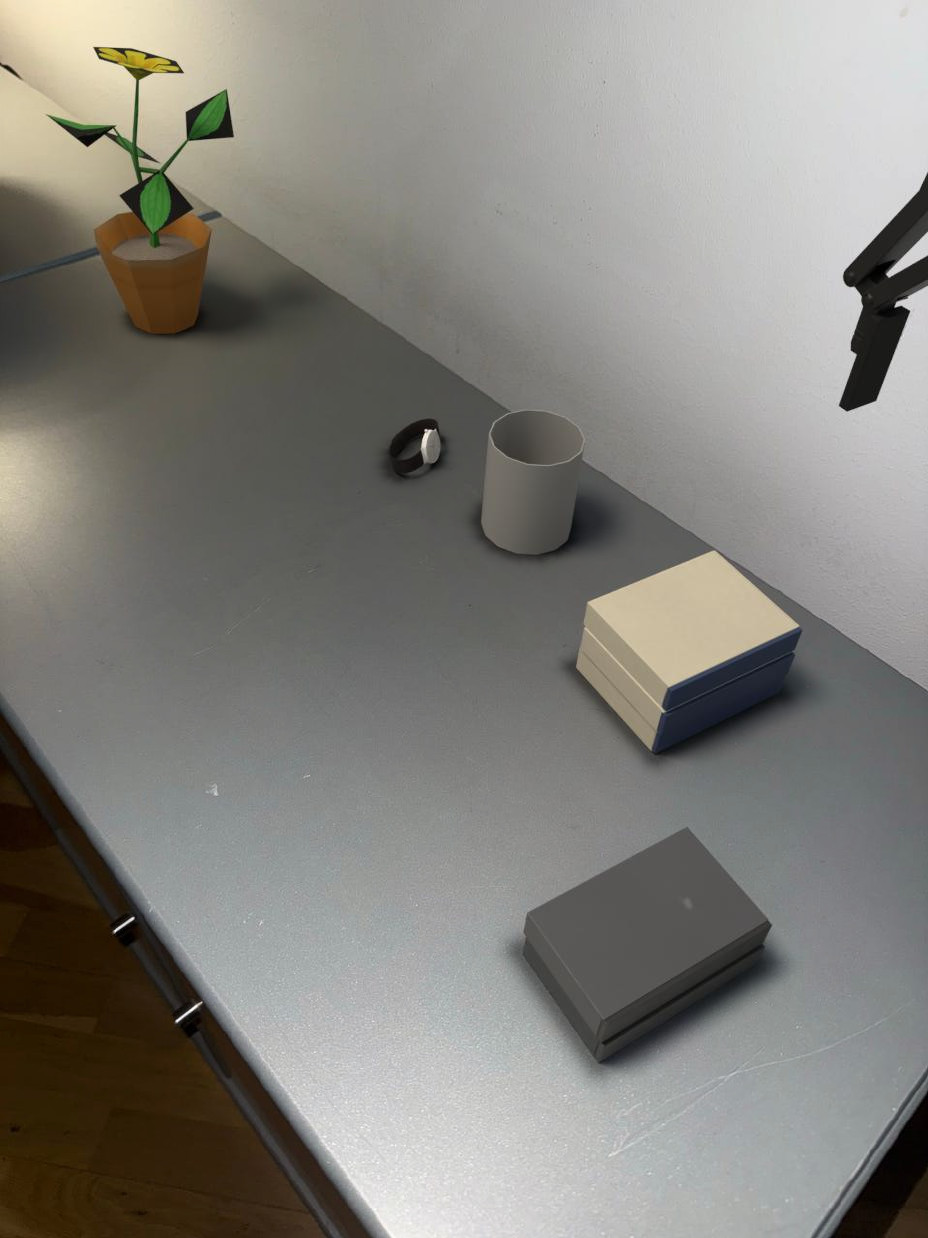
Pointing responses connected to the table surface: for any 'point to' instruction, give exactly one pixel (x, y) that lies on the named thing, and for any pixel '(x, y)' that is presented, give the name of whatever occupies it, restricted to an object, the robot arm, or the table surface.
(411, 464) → the watch
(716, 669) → the cream book
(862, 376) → the robot arm
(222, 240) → the table surface
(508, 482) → the cup
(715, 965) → the grey stack
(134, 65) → the potted plant
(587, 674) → the cream stack
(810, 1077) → the table surface
